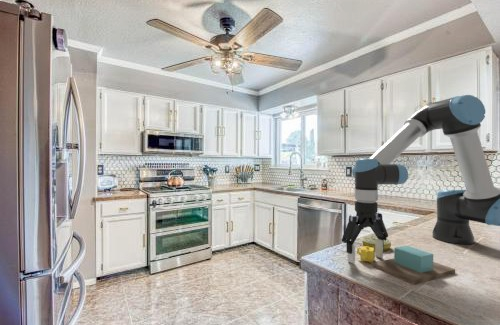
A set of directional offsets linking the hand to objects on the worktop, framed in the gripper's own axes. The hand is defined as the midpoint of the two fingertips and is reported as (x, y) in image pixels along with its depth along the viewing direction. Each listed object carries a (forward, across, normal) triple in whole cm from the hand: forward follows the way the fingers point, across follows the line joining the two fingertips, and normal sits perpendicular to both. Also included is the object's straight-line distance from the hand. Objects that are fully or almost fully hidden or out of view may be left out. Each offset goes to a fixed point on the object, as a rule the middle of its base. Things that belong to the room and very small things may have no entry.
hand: (365, 259), depth 91 cm
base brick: (-1, -8, +12) cm, 15 cm away
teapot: (0, 0, 0) cm, 0 cm away
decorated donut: (0, -16, -9) cm, 18 cm away
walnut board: (0, -8, +12) cm, 14 cm away
